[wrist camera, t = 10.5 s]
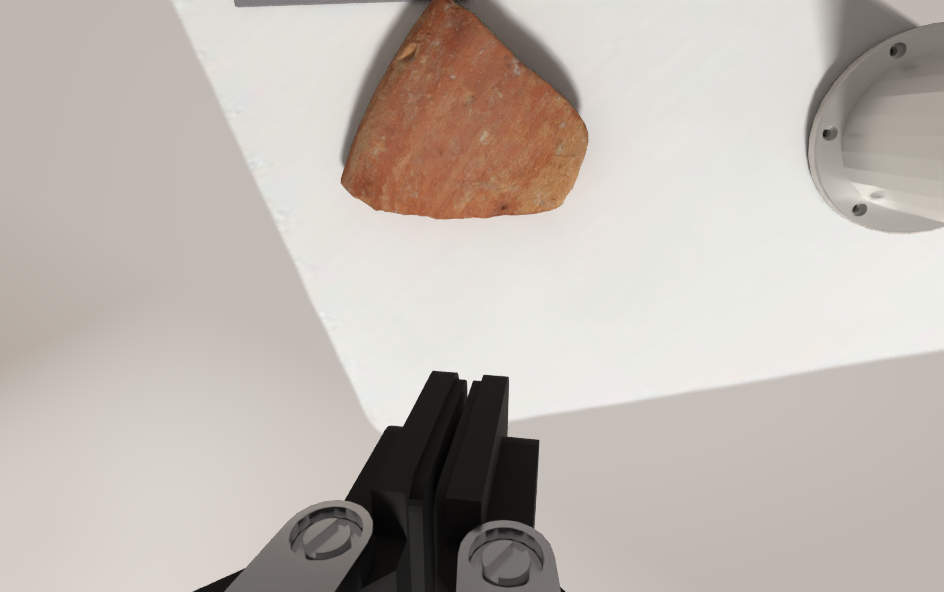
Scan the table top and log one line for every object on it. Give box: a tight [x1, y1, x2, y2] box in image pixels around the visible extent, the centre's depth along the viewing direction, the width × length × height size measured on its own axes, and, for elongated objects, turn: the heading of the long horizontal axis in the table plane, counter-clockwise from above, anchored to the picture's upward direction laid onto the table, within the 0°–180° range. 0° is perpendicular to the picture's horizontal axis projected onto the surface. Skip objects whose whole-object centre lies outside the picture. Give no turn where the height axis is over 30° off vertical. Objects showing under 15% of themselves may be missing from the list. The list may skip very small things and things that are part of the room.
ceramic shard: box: [341, 0, 588, 219], centre depth 36 cm, size 15×6×15 cm
